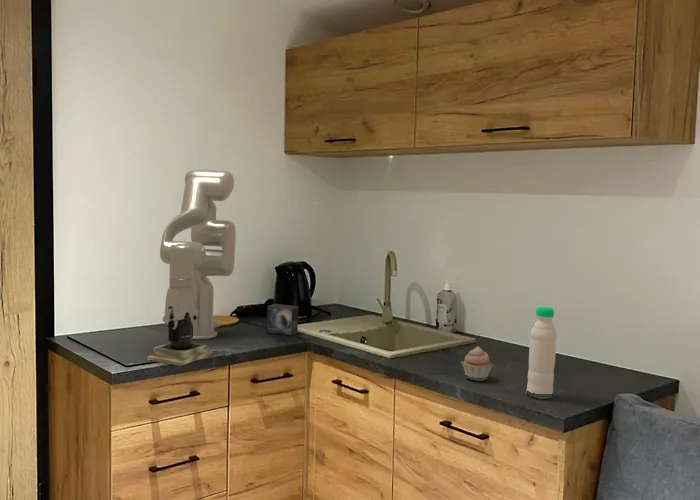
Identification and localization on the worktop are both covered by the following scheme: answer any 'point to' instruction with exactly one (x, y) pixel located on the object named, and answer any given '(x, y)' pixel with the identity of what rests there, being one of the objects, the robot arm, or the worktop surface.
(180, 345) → the supplement bottle
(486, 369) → the cupcake
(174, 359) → the board
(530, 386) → the white milk bottle
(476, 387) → the worktop surface
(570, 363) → the worktop surface
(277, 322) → the small box
